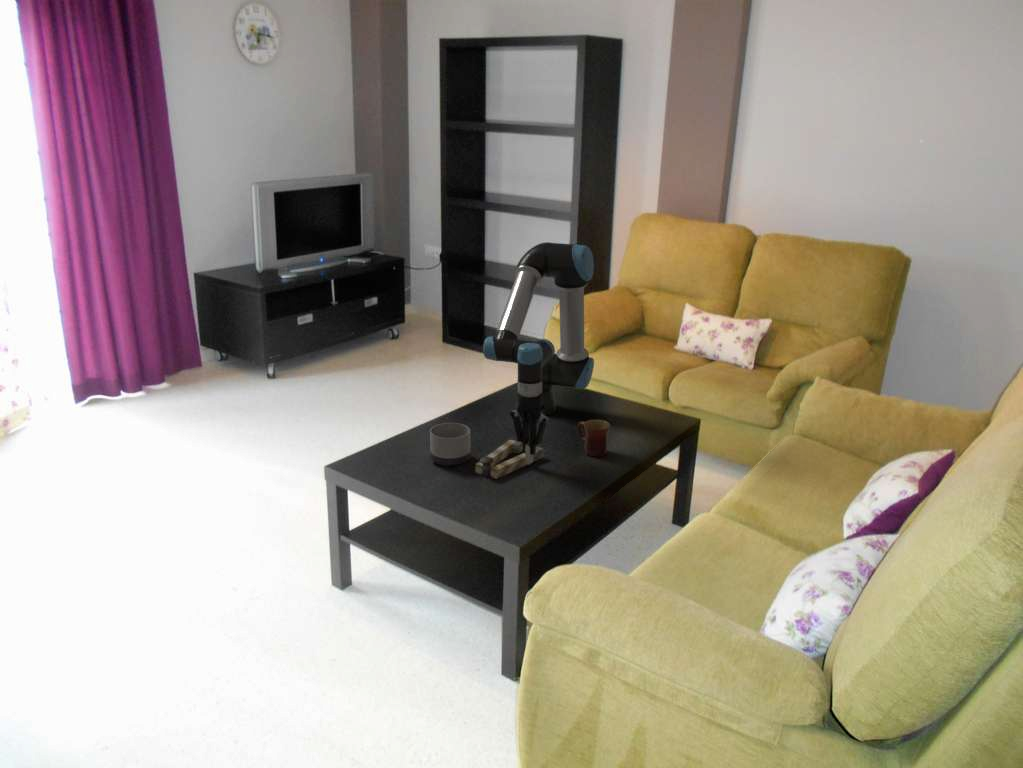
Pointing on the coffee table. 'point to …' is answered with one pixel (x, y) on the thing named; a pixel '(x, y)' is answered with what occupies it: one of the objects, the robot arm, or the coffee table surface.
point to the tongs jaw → (514, 464)
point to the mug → (595, 436)
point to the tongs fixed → (497, 457)
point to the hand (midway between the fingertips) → (529, 462)
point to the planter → (450, 443)
